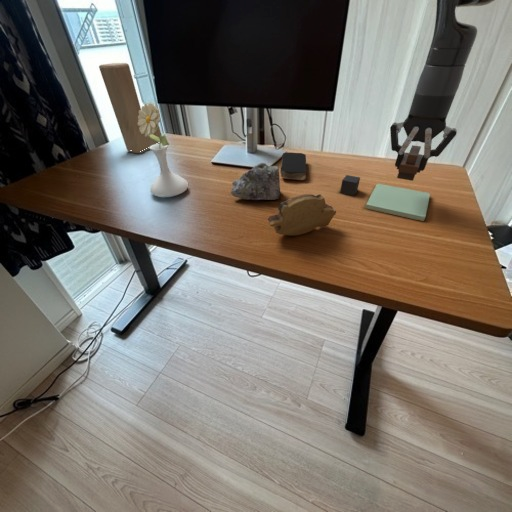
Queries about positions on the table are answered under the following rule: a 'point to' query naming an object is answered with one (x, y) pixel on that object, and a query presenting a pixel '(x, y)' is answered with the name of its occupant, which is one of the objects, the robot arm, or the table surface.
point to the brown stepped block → (410, 164)
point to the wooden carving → (302, 215)
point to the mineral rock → (258, 183)
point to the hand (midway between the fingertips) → (408, 169)
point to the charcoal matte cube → (350, 185)
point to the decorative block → (126, 106)
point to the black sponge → (293, 166)
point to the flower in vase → (160, 154)
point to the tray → (399, 201)
